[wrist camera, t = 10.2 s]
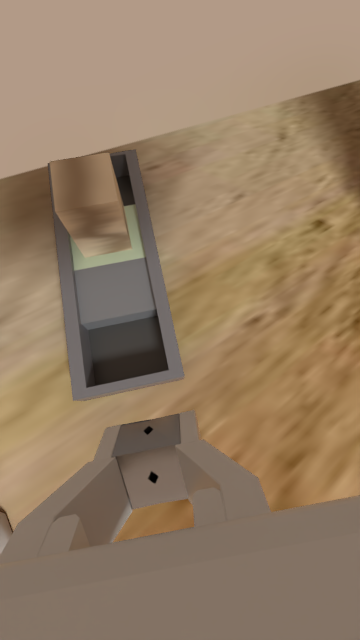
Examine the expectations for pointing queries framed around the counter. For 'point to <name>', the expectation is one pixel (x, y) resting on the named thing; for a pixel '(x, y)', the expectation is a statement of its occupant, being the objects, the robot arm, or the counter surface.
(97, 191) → the block
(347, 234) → the counter surface
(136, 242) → the box
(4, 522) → the flask
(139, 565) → the robot arm
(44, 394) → the counter surface
